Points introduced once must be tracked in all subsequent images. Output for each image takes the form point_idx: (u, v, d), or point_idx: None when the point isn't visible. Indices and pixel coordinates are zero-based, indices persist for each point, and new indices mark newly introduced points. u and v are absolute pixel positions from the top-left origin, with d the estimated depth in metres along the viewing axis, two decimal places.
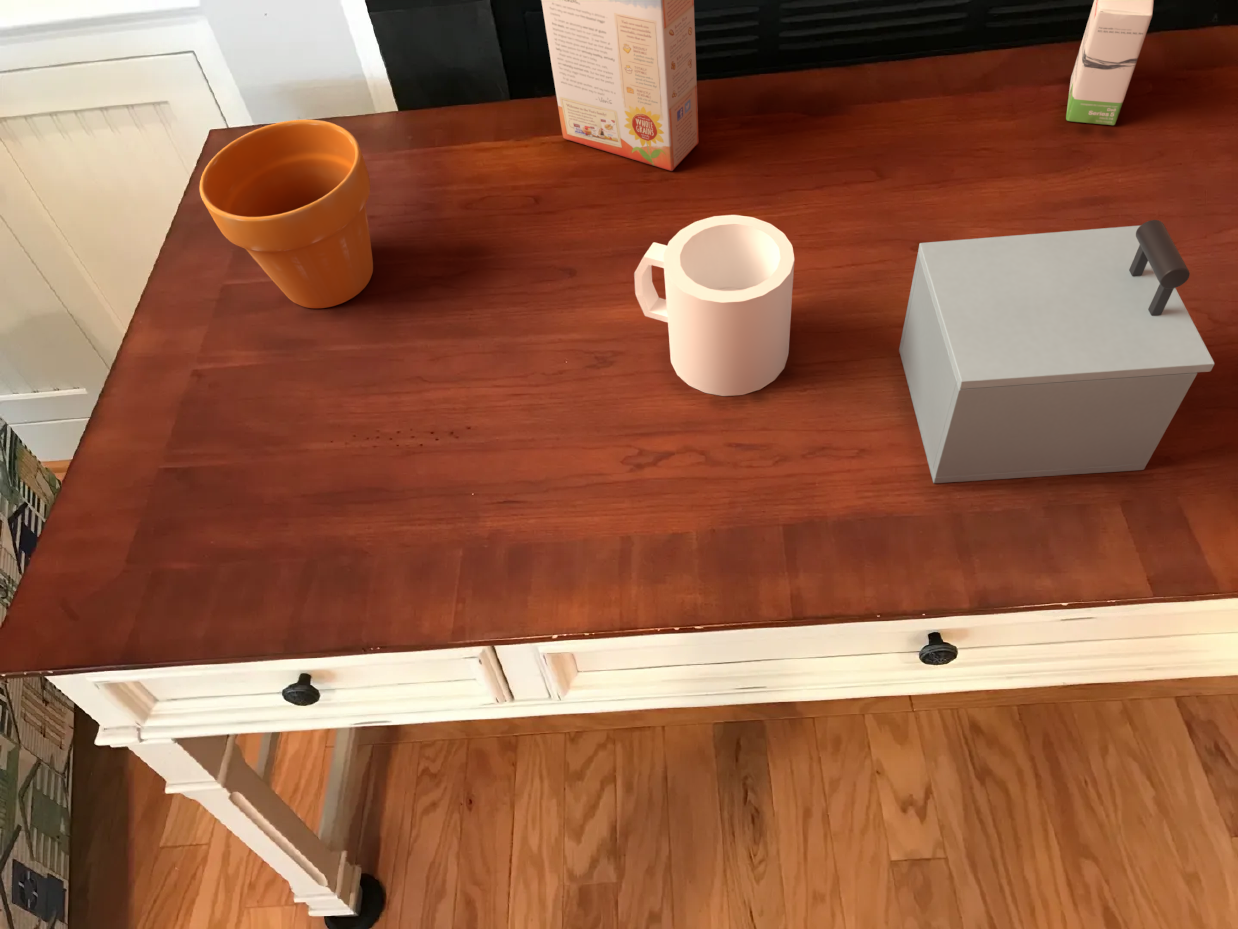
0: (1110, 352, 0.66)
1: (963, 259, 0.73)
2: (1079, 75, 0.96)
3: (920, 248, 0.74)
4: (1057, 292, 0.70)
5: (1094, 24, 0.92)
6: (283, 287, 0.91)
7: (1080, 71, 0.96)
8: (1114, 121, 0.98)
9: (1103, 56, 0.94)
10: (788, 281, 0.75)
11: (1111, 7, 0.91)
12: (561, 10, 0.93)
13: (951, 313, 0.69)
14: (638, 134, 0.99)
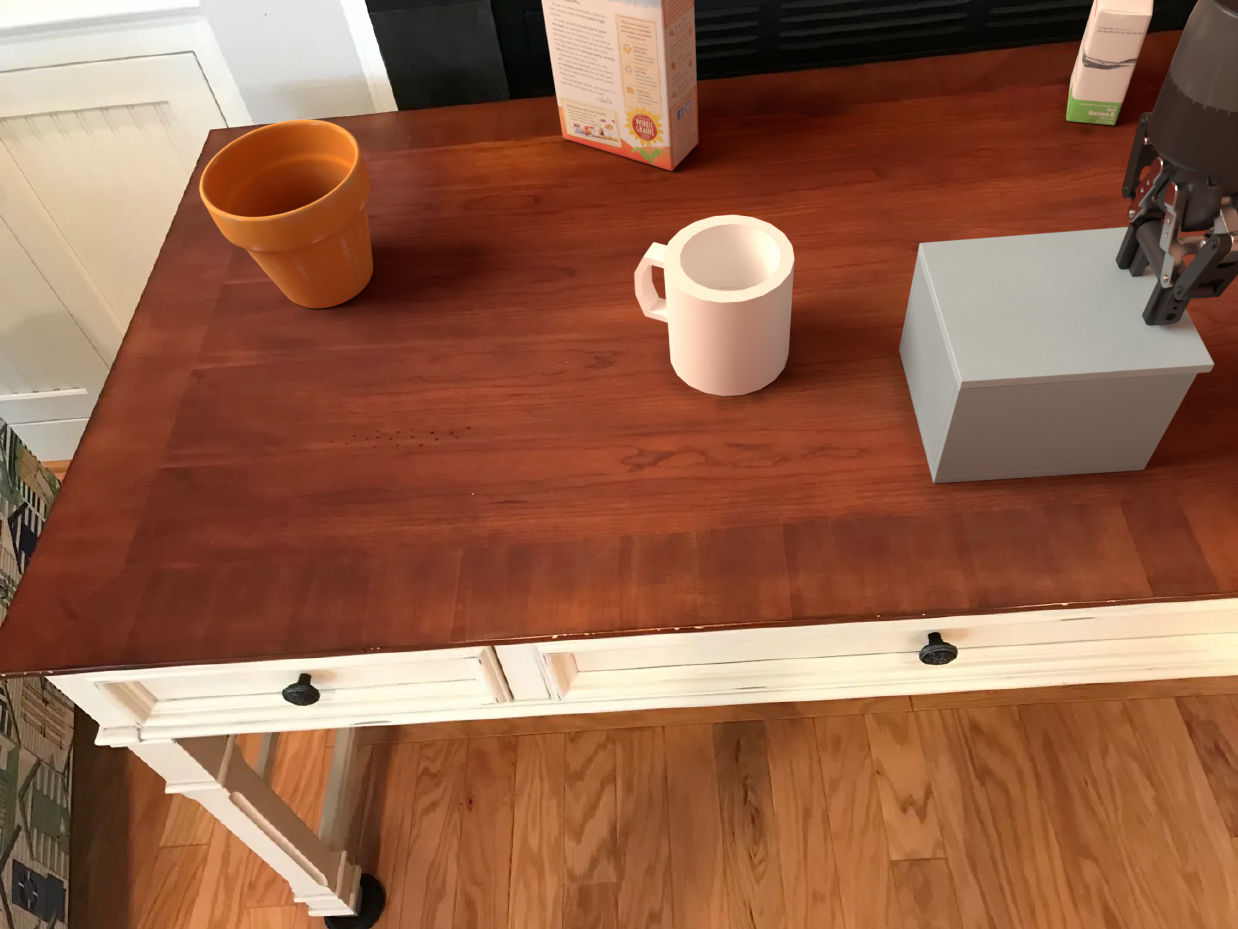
0: (1110, 352, 0.66)
1: (963, 259, 0.73)
2: (1079, 75, 0.96)
3: (920, 248, 0.74)
4: (1057, 292, 0.70)
5: (1094, 24, 0.92)
6: (283, 287, 0.91)
7: (1080, 71, 0.96)
8: (1114, 121, 0.98)
9: (1103, 56, 0.94)
10: (788, 281, 0.75)
11: (1111, 7, 0.91)
12: (561, 10, 0.93)
13: (951, 313, 0.69)
14: (638, 134, 0.99)
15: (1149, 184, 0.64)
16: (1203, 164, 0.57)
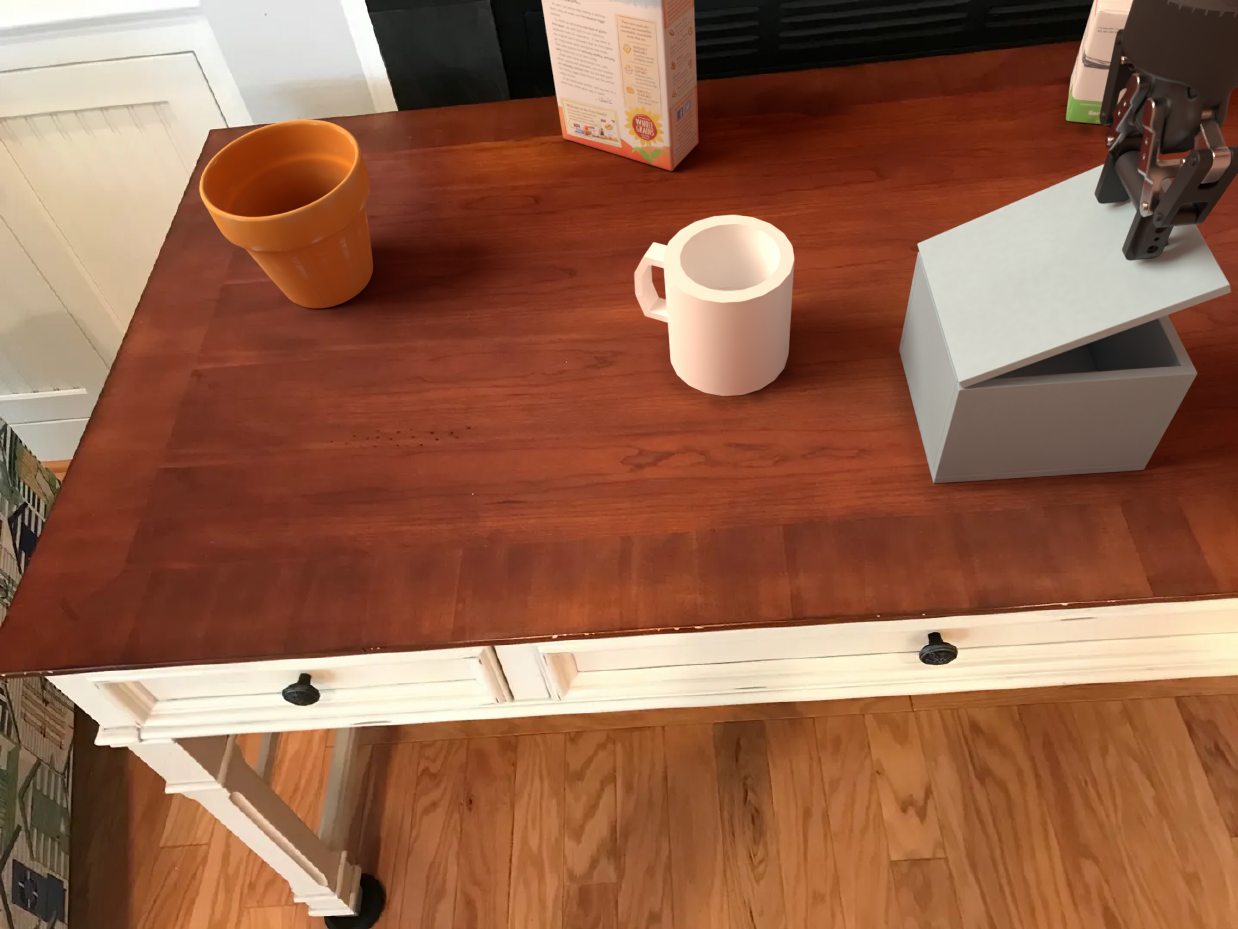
0: (1112, 305, 0.62)
1: (960, 247, 0.72)
2: (1079, 75, 0.96)
3: (919, 248, 0.74)
4: (1055, 254, 0.67)
5: (1094, 24, 0.92)
6: (283, 287, 0.91)
7: (1080, 71, 0.96)
8: None
9: (1103, 56, 0.94)
10: (788, 281, 0.75)
11: (1111, 7, 0.91)
12: (561, 10, 0.93)
13: (948, 310, 0.69)
14: (638, 134, 0.99)
15: (1126, 105, 0.59)
16: (1180, 73, 0.52)
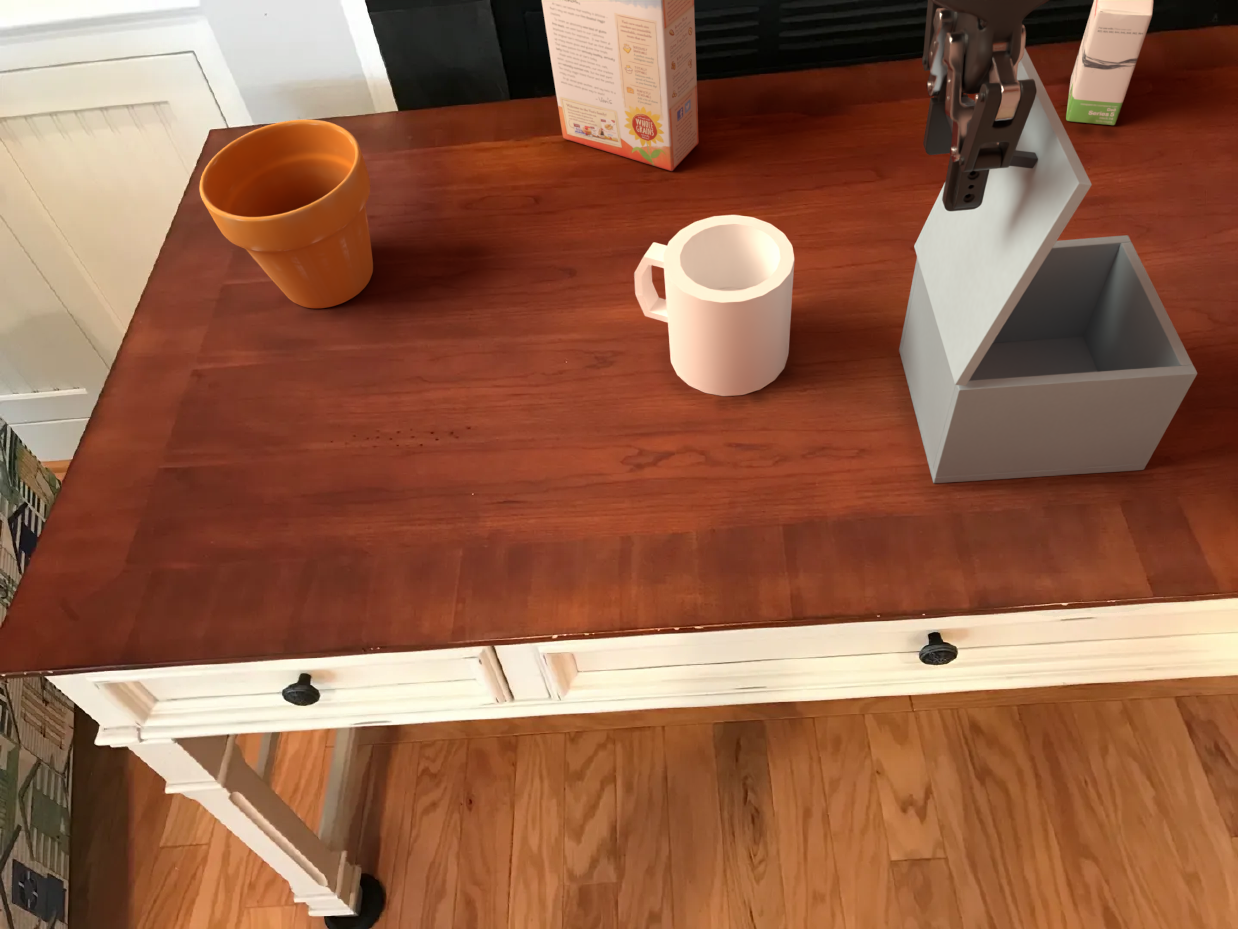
0: (1018, 251, 0.59)
1: (934, 236, 0.71)
2: (1079, 75, 0.96)
3: None
4: (981, 211, 0.64)
5: (1094, 24, 0.92)
6: (283, 287, 0.91)
7: (1080, 71, 0.96)
8: (1114, 121, 0.98)
9: (1103, 56, 0.94)
10: (788, 281, 0.75)
11: (1111, 7, 0.91)
12: (561, 10, 0.93)
13: (938, 310, 0.69)
14: (638, 134, 0.99)
15: (935, 44, 0.56)
16: (965, 1, 0.49)
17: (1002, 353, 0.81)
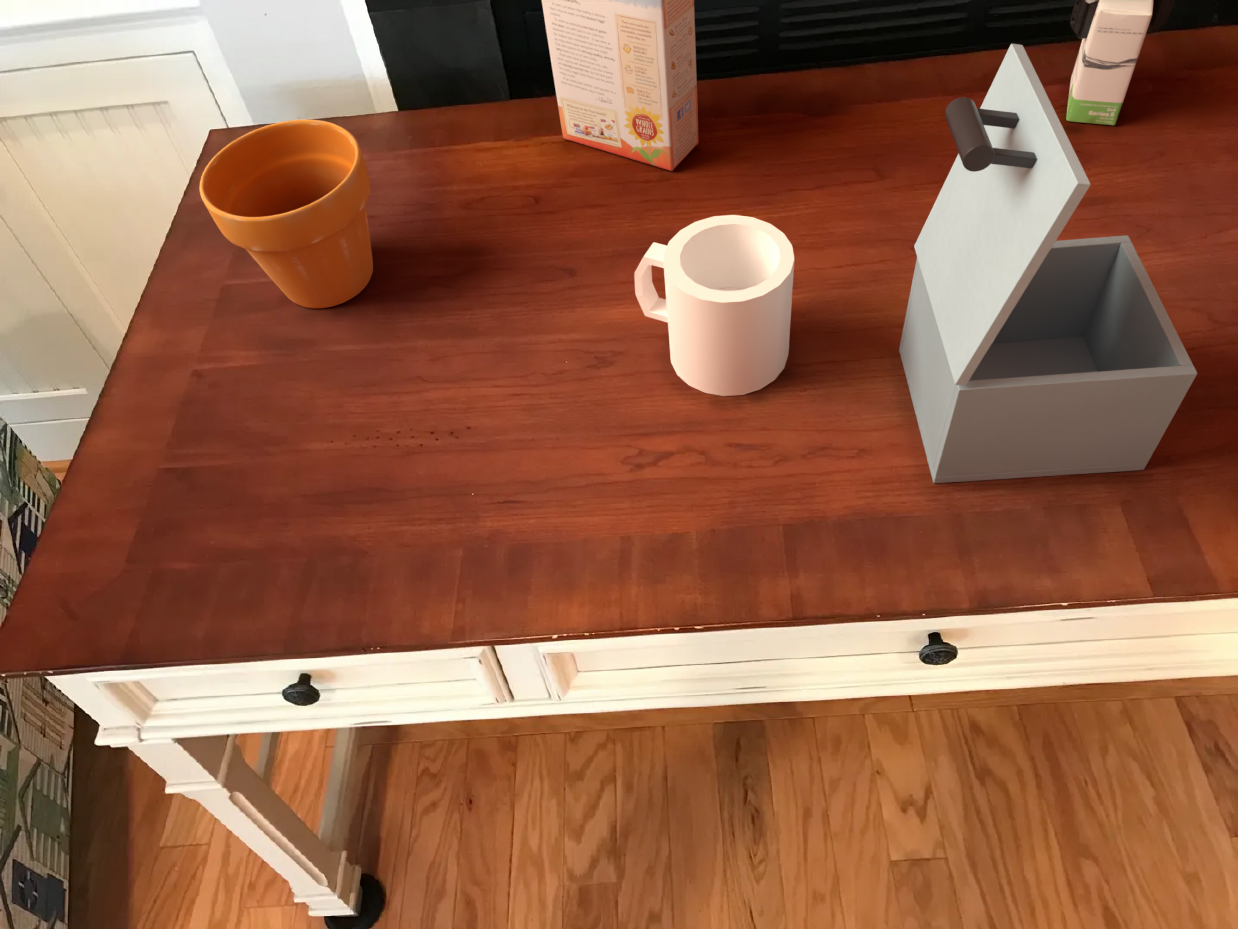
0: (1017, 251, 0.59)
1: (933, 236, 0.71)
2: (1079, 75, 0.96)
3: None
4: (980, 211, 0.64)
5: (1094, 24, 0.92)
6: (283, 287, 0.91)
7: (1080, 71, 0.96)
8: (1114, 121, 0.98)
9: (1103, 56, 0.94)
10: (788, 281, 0.75)
11: (1111, 7, 0.91)
12: (561, 10, 0.93)
13: (938, 310, 0.69)
14: (638, 134, 0.99)
15: None
16: None
17: (1002, 353, 0.81)
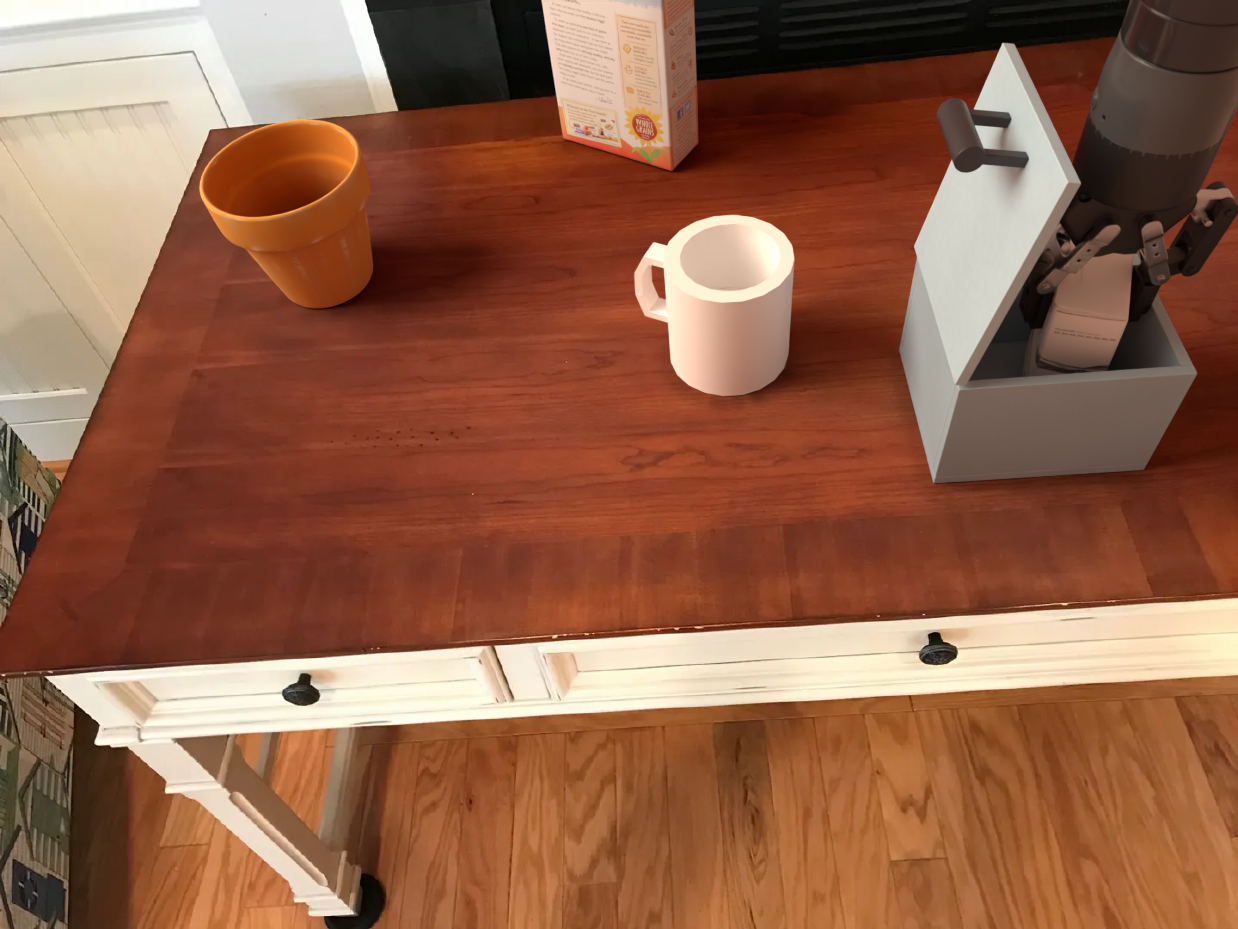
0: (1011, 251, 0.59)
1: (932, 236, 0.71)
2: (1032, 375, 0.71)
3: None
4: (976, 211, 0.64)
5: (1049, 324, 0.67)
6: (283, 287, 0.91)
7: (1033, 371, 0.71)
8: None
9: (1063, 359, 0.69)
10: (788, 281, 0.75)
11: (1072, 305, 0.66)
12: (561, 10, 0.93)
13: (938, 310, 0.69)
14: (638, 134, 0.99)
15: None
16: None
17: (1002, 353, 0.81)
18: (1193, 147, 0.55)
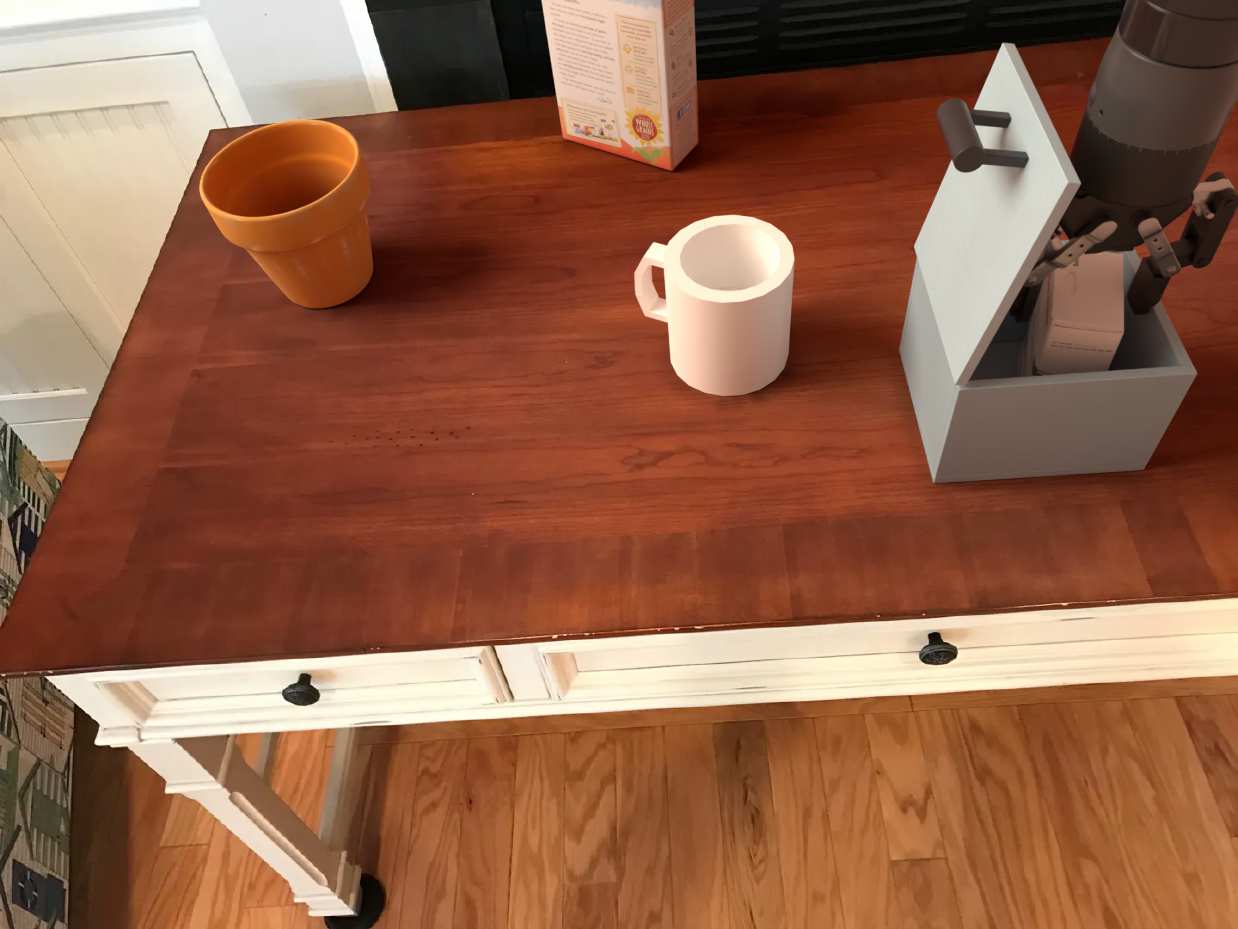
0: (1011, 251, 0.59)
1: (932, 236, 0.71)
2: None
3: None
4: (976, 211, 0.64)
5: (1046, 337, 0.68)
6: (283, 287, 0.91)
7: None
8: None
9: (1060, 371, 0.70)
10: (788, 281, 0.75)
11: (1069, 319, 0.67)
12: (561, 10, 0.93)
13: (938, 310, 0.69)
14: (638, 134, 0.99)
15: None
16: None
17: (1002, 353, 0.81)
18: (1191, 143, 0.55)
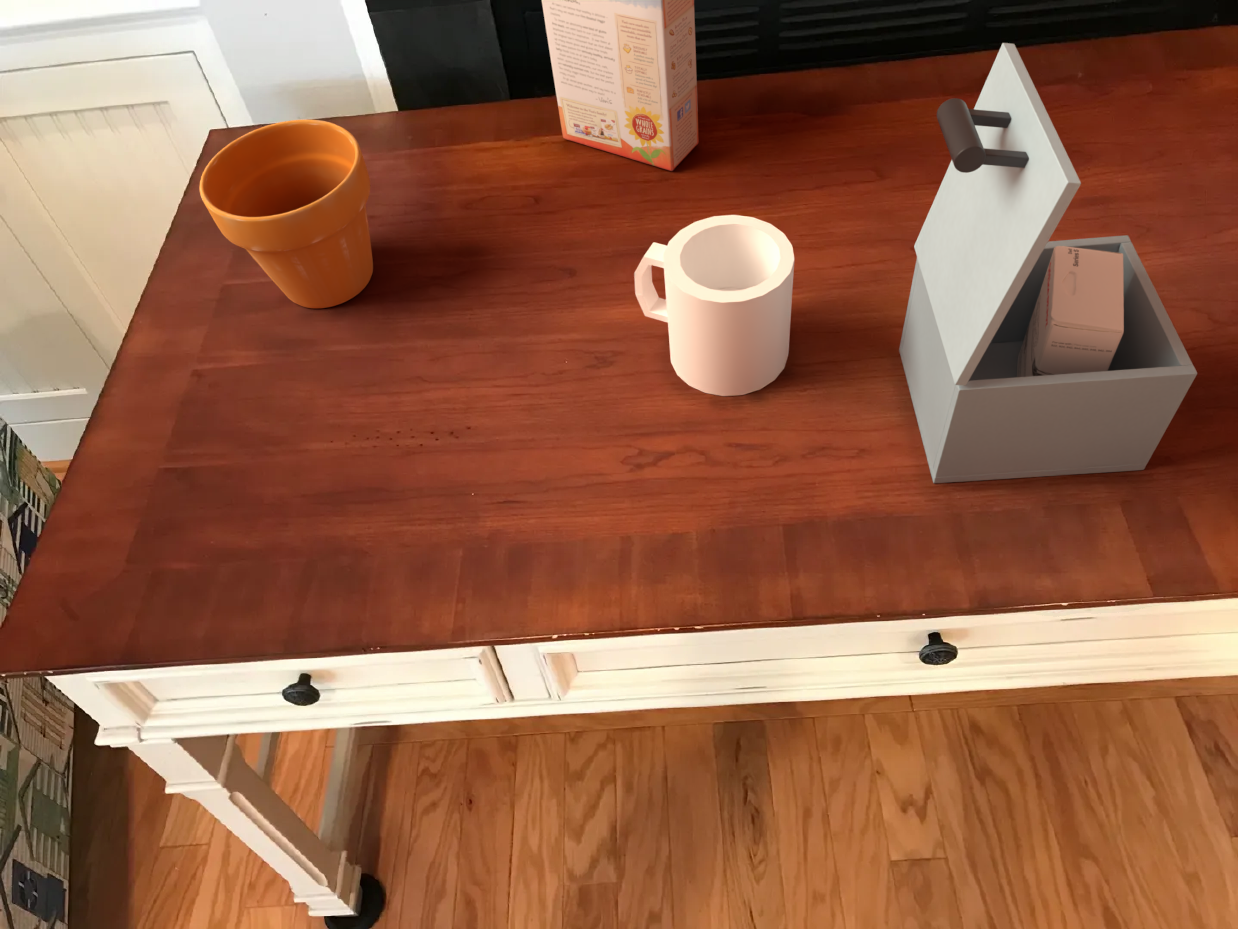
0: (1011, 251, 0.59)
1: (932, 236, 0.71)
2: None
3: None
4: (976, 211, 0.64)
5: (1046, 337, 0.68)
6: (283, 287, 0.91)
7: None
8: None
9: (1060, 371, 0.70)
10: (788, 281, 0.75)
11: (1068, 319, 0.67)
12: (561, 10, 0.93)
13: (938, 310, 0.69)
14: (638, 134, 0.99)
15: None
16: None
17: (1002, 353, 0.81)
18: None
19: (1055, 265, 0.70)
